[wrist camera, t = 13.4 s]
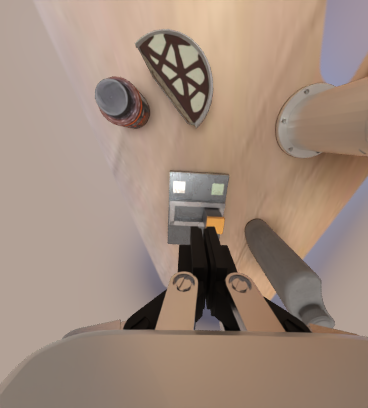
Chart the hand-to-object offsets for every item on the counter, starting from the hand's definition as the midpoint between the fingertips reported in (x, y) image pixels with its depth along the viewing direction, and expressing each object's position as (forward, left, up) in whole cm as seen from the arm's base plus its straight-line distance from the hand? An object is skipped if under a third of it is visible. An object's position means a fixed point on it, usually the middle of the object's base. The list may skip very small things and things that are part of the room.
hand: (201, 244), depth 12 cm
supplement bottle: (+10, -11, -26) cm, 30 cm away
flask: (-20, +17, -26) cm, 36 cm away
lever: (-6, +8, -24) cm, 26 cm away
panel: (-3, +8, -25) cm, 27 cm away
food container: (+1, -15, -26) cm, 30 cm away
